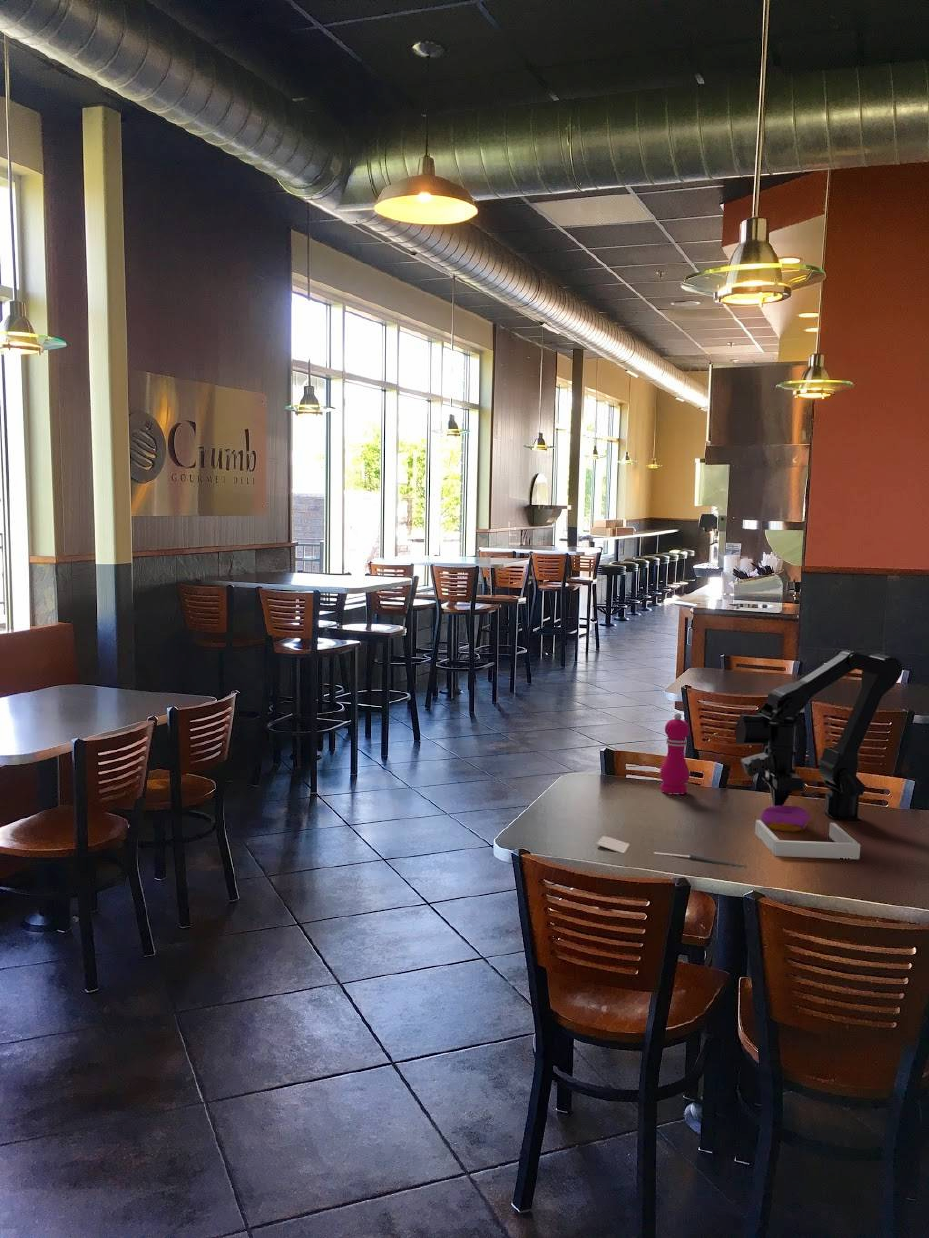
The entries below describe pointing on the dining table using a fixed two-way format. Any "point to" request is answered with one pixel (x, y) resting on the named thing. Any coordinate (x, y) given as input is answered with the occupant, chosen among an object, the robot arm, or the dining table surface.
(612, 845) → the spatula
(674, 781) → the pepper mill
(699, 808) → the dining table surface
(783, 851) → the tray
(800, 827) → the donut
